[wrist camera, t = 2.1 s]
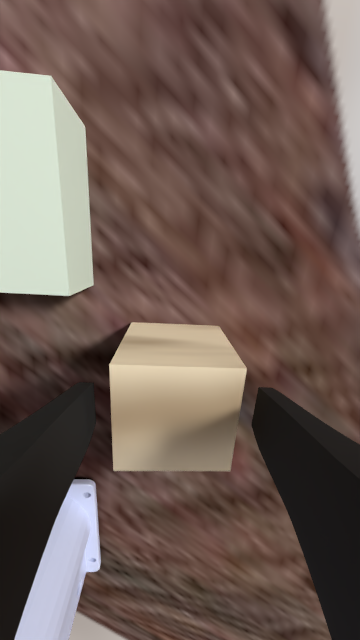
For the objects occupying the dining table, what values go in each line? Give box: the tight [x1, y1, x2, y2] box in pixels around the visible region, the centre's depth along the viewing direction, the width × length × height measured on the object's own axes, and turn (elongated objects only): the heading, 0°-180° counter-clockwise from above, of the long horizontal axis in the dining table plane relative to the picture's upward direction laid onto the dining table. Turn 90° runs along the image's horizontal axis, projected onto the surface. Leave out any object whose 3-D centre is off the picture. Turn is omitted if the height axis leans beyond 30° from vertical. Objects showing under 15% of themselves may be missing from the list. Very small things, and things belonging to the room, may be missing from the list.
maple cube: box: [109, 322, 247, 471], centre depth 11 cm, size 5×5×5 cm
